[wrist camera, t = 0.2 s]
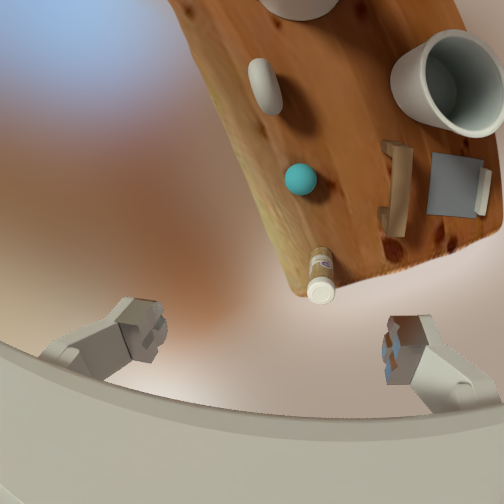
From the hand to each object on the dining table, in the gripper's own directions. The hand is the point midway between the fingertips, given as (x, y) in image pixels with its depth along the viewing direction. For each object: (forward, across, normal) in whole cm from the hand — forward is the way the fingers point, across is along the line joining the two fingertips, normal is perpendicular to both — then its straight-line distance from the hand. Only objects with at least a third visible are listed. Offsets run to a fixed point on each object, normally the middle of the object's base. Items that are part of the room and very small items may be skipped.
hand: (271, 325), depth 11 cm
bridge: (+47, -15, +5) cm, 50 cm away
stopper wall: (+47, -36, +5) cm, 59 cm away
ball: (+44, +1, +5) cm, 45 cm away
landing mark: (+47, -30, +5) cm, 56 cm away
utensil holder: (+48, -22, -13) cm, 54 cm away
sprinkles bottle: (+48, -3, +21) cm, 52 cm away
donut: (+48, +6, -11) cm, 49 cm away
